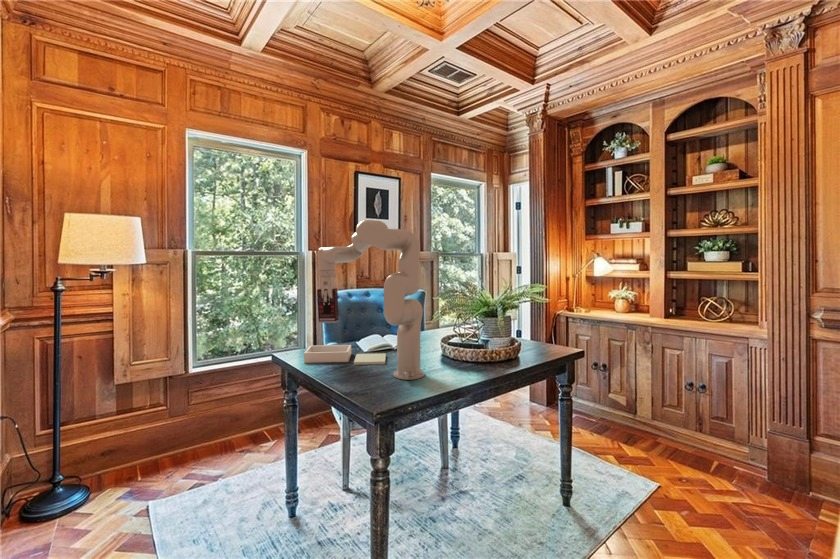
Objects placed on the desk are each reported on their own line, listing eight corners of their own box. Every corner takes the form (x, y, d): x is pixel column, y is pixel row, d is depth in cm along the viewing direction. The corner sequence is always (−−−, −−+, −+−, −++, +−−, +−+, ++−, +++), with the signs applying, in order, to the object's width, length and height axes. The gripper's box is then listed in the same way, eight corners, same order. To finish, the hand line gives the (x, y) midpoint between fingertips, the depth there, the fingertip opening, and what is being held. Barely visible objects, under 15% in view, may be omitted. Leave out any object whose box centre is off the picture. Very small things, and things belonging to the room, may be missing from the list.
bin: (348, 361, 187) (348, 352, 187) (304, 362, 186) (303, 352, 186) (351, 353, 201) (351, 344, 201) (310, 354, 200) (310, 345, 200)
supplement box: (339, 321, 194) (338, 288, 193) (336, 323, 189) (334, 289, 188) (321, 321, 195) (320, 288, 194) (317, 323, 190) (316, 289, 189)
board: (385, 364, 183) (385, 361, 183) (353, 364, 183) (353, 362, 182) (385, 355, 197) (385, 353, 197) (356, 356, 196) (356, 353, 196)
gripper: (332, 274, 182) (333, 315, 183) (337, 272, 199) (338, 309, 200) (315, 275, 182) (316, 315, 183) (322, 273, 199) (323, 310, 200)
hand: (328, 312), depth 192 cm, fingers closed on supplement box, 5 cm apart
